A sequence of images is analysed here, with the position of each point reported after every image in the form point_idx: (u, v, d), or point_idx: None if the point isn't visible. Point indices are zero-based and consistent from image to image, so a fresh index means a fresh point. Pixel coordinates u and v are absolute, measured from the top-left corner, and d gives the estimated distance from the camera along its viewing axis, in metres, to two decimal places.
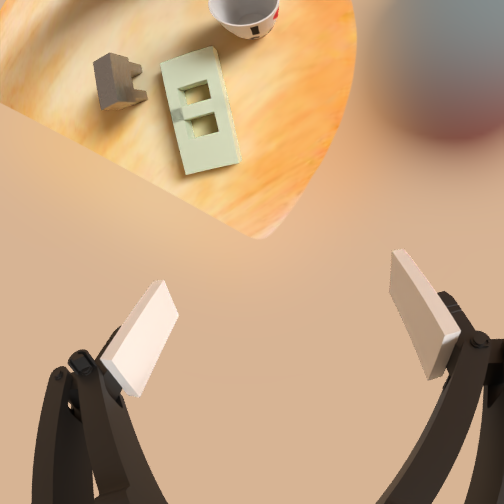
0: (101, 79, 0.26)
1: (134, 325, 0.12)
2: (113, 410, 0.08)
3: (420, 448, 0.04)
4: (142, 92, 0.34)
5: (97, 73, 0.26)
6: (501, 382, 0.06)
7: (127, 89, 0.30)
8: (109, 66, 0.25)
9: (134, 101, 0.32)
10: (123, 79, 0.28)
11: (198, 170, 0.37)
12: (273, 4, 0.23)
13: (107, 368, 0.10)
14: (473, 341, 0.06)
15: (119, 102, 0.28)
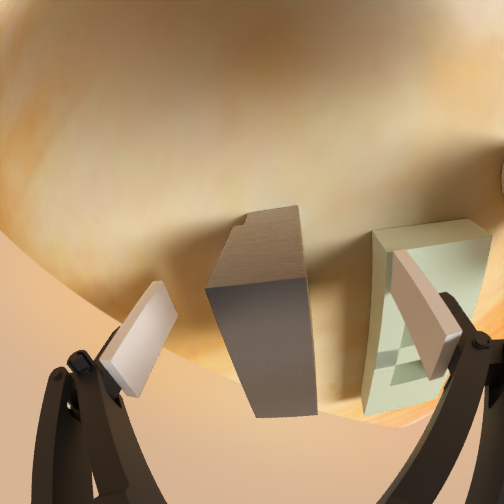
0: (259, 363, 0.09)
1: (133, 326, 0.12)
2: (112, 410, 0.08)
3: (421, 448, 0.04)
4: None
5: (236, 340, 0.09)
6: (502, 383, 0.06)
7: (313, 340, 0.13)
8: (301, 333, 0.08)
9: None
10: None
11: (384, 411, 0.20)
12: None
13: (106, 368, 0.10)
14: (474, 341, 0.06)
15: None
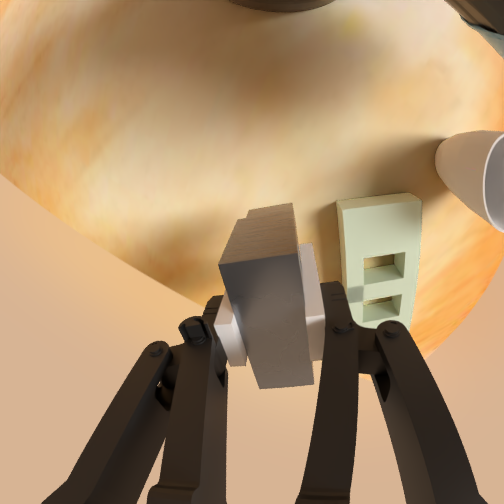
0: (262, 331, 0.12)
1: None
2: (214, 392, 0.09)
3: (312, 438, 0.06)
4: None
5: (243, 310, 0.11)
6: None
7: None
8: (296, 301, 0.11)
9: None
10: None
11: None
12: (503, 163, 0.16)
13: (218, 335, 0.11)
14: (335, 328, 0.09)
15: None
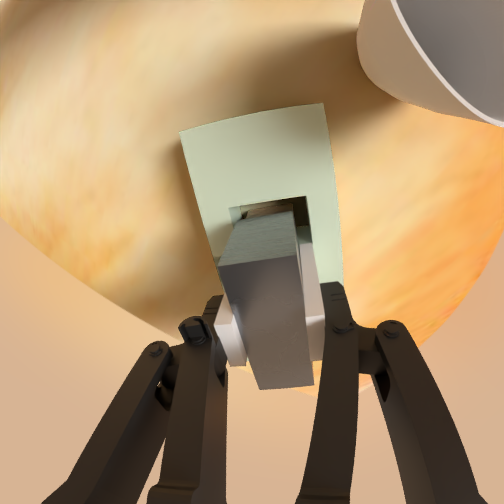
0: (261, 332, 0.12)
1: None
2: (213, 392, 0.09)
3: (312, 438, 0.06)
4: None
5: (242, 312, 0.11)
6: None
7: None
8: (295, 303, 0.11)
9: None
10: None
11: None
12: (473, 42, 0.07)
13: (218, 335, 0.11)
14: (335, 328, 0.09)
15: None
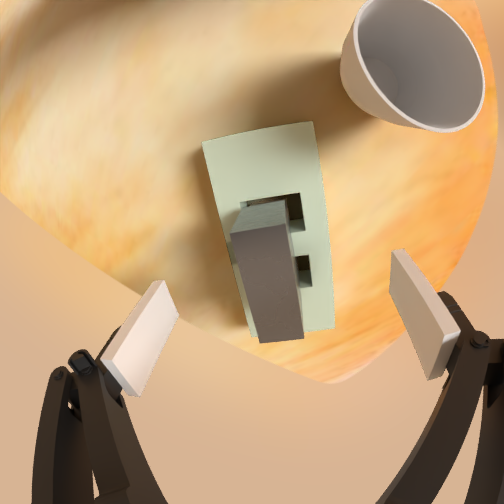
0: (261, 286, 0.16)
1: (134, 325, 0.12)
2: (113, 410, 0.08)
3: (420, 448, 0.04)
4: None
5: (246, 269, 0.15)
6: (501, 382, 0.06)
7: (298, 285, 0.19)
8: (285, 261, 0.15)
9: None
10: None
11: None
12: (435, 64, 0.11)
13: (107, 368, 0.10)
14: (473, 341, 0.06)
15: None
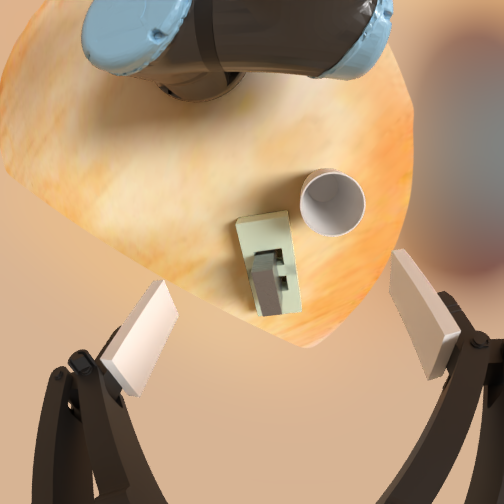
0: (263, 292, 0.39)
1: (134, 325, 0.12)
2: (113, 410, 0.08)
3: (420, 448, 0.04)
4: (281, 277, 0.46)
5: (257, 285, 0.39)
6: (501, 382, 0.06)
7: (280, 290, 0.42)
8: (272, 282, 0.38)
9: (282, 296, 0.44)
10: (278, 285, 0.41)
11: None
12: (351, 187, 0.34)
13: (107, 368, 0.10)
14: (473, 341, 0.06)
15: None
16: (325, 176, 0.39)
